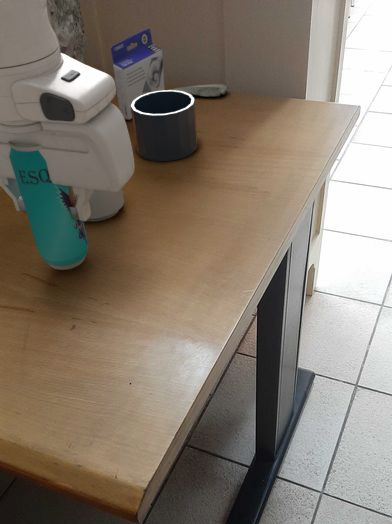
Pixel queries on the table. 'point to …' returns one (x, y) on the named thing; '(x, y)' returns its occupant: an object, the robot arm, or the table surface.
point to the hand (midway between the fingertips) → (54, 213)
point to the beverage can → (48, 209)
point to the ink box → (136, 69)
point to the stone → (204, 90)
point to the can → (104, 204)
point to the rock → (68, 27)
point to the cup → (165, 125)
